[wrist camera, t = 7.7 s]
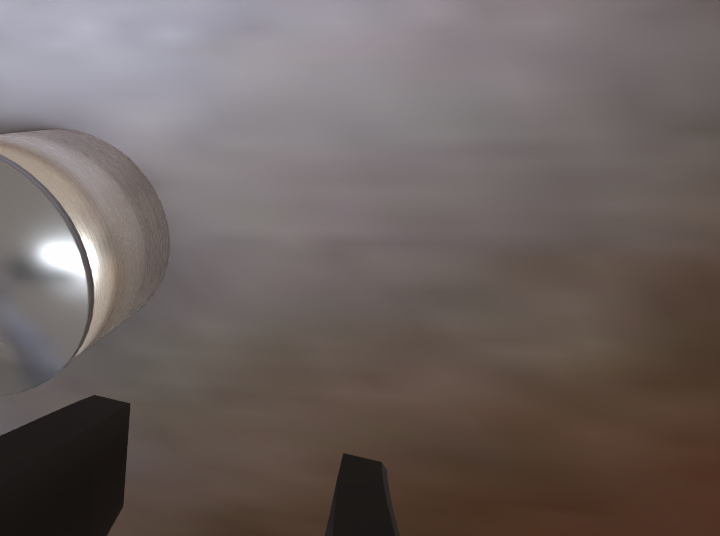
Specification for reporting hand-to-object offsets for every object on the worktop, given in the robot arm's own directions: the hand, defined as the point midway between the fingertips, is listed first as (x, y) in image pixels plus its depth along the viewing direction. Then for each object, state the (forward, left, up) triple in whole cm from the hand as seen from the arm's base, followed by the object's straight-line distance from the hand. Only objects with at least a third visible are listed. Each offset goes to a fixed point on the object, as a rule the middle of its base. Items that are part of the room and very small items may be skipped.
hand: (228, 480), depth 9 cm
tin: (0, +9, -10) cm, 13 cm away
